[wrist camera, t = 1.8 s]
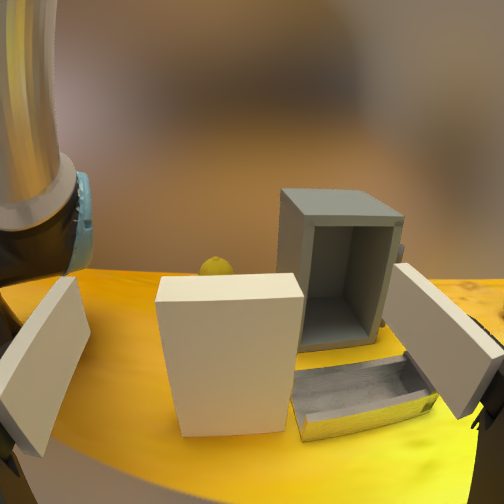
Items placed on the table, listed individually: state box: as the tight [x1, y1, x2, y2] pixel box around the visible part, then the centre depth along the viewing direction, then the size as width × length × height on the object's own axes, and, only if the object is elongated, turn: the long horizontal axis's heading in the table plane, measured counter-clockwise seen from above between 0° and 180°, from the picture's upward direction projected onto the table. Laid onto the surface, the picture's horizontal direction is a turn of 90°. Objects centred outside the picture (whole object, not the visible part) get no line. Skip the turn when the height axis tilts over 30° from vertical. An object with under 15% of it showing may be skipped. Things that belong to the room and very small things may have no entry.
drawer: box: [290, 351, 439, 442], centre depth 30 cm, size 15×7×4 cm, turn 97°
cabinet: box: [276, 188, 404, 353], centre depth 42 cm, size 13×12×18 cm
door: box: [155, 273, 304, 437], centre depth 26 cm, size 10×4×16 cm, turn 97°
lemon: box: [198, 256, 234, 276], centre depth 48 cm, size 6×6×8 cm
